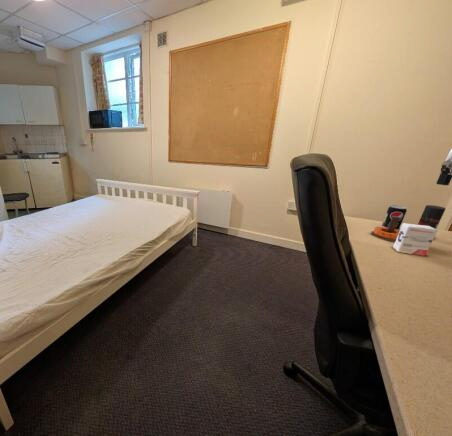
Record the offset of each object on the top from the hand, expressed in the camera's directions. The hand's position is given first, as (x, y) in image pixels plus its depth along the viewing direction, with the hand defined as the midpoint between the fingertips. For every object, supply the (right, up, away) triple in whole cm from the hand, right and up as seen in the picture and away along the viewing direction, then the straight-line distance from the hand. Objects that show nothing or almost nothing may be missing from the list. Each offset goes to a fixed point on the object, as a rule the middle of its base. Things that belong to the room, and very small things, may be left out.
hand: (451, 184), depth 86 cm
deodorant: (+14, -22, +21) cm, 34 cm away
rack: (-3, -22, +21) cm, 31 cm away
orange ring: (-5, -21, +20) cm, 29 cm away
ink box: (-9, -28, +7) cm, 30 cm away
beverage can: (+8, -19, +31) cm, 37 cm away
